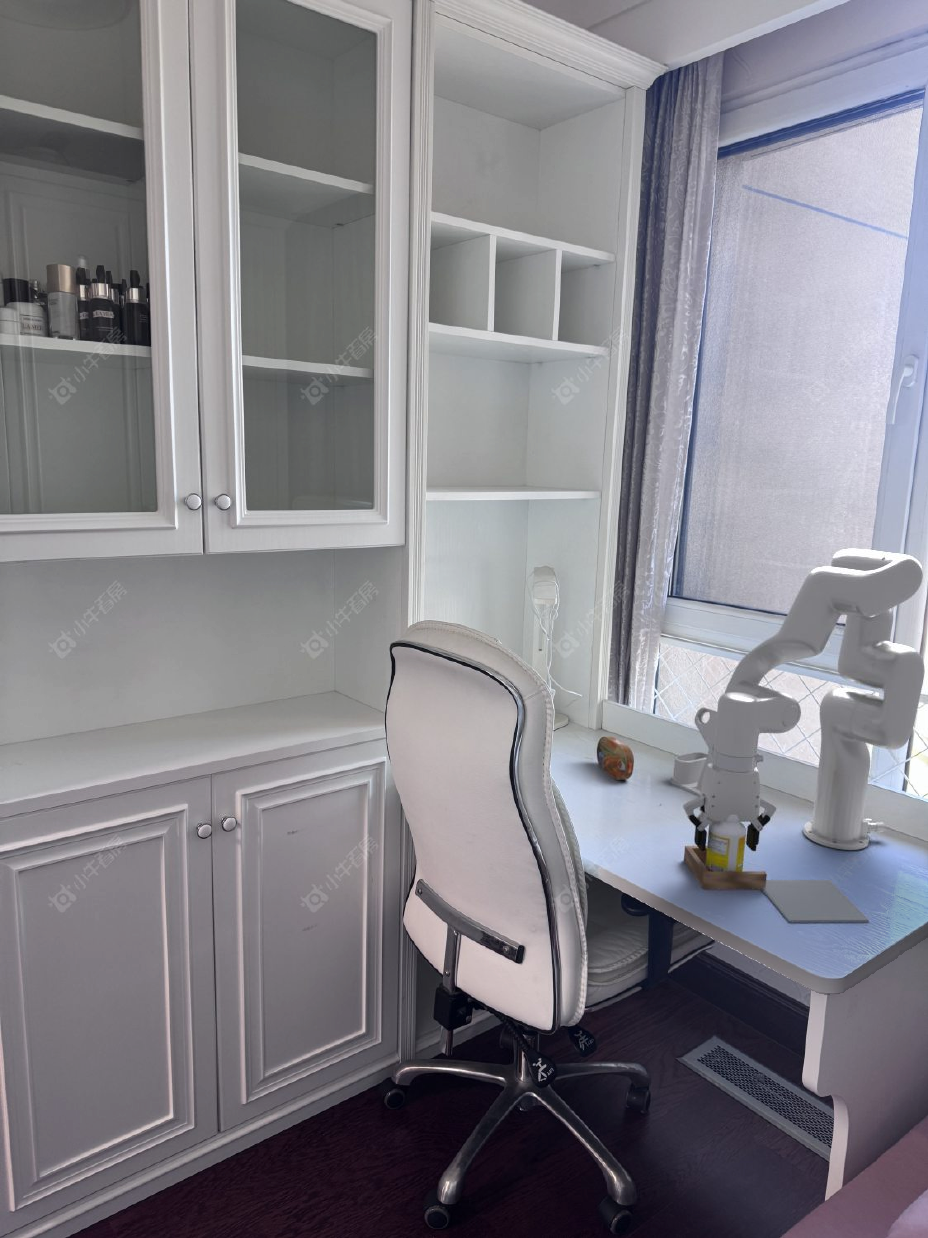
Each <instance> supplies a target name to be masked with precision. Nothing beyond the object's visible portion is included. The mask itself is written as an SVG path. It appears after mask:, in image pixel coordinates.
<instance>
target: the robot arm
mask: <svg viewBox="0 0 928 1238" xmlns="http://www.w3.org/2000/svg"><path fill="white" fill-rule="evenodd" d="M923 576H924V571H923V567H922V565H921V563H920V562H919V561H918V560H917V559H916V558H914V556H911V555H908V554H900V553H893V552H886V551H879V550H872V549H862V548H860V549H859V548H847V549H842V550H839V551H837V552H836V553H835V554H834V555H833V557H832V558H831V561H830V566H822V567H816V568H815V569H813V570H811V572H809V573H808V575H807V576H806V577H805V579H804V581H803V583H802V584H801V587H800V589H799V590H798V593H797V595H796V597H795V599H794V601H793V603H792V604H791V607H790V609H789V611H788V613H787V615H786V616H785V618H784V620H783V623H782V625H781V626H780V628H779V630H778V632H776V634H774V635H772V636H771V637H769V638H768V639H765V640H764V641H763V642H761V643H759V644H758V645H757V646H755V647H754V648H753V649H752V650H751V651H749V652H748V653H746V654H745V656H744V657H743V658H742V659H741V660H740V661H739V662H738V664H737V665H736V668H735V669H734V671H733V673H732V675H731V677H730V679H729V682H728V684H727V685H726V688H725V691H724V693H723V694H721V696H720V697H719V699H718V701H717V710H716V712H717V719H716V730H715V741H714V752H713V762H712V763H709V764H708V765H707V768H706V771H705V774H704V778H703V782H702V787H701V793H700V796H698V797H695V798H694V799H692V800H690V801H687V802H686V803H684V804H683V805H682V809H683V810H684V812H685V815H686V817H687V819H688V820H689V821H690V822H691V823H692V824H693V825H694V827H695V828H694V839H693V840H694V842H693V843H694V844H695V846H698V848H699V849H700V850H701V851H705V849H706V846H707V839H708V832H707V830H706V828H708V827H709V824H710V823H711V822H712V821H716V822H725V821H728V820H727V819H728V817H729V816H730V815H737V817H738V819H739V820H738V821H739V822H741V823H743V822H746V823H747V822H749V823H750V824H748V825H747V828H746V838H745V846H747V847H748V849H749V850H750V851H752V852H757V846H758V845H759V843H760V835H761V834H760V832H762V831H763V829H764V826H766V825H767V824H769V822H770V821H771V818H772V817H773V816H774V814H775V812H776V811H777V807H776V806H775V805H774V804H773V803H771V802H769V801H768V800H766V799H764V798H762V797H761V784H760V783H761V782H760V781H761V780H760V774H759V773H760V772H759V769H758V768H757V765H758V763H762V762H763V761H764V756H763V754H759V753H758V746H759V736H760V735H761V734H782V733H783V734H784V733H788V732H789V731H791V730H793V729H794V728H795V727H796V726H797V725H798V723H799V722H800V719H801V717H802V709H801V706H800V704H799V702H798V701H797V700H796V699H795V697H793V696H791V695H789V694H788V693H785V692H782V691H779V690H775V689H772V688H770V687H765V686H762V685H760V683H761V681H762V680H763V679H764V677H765V676H766V675H767V674H768V673H769V672H770V671H772V670H773V669H775V668H777V667H779V666H781V665H784V664H786V663H791V662H795V661H798V660H799V661H800V660H803V659H808V658H812V657H816V656H819V655H820V654H822V653H823V652H824V649H825V647H826V645H827V643H828V641H829V639H830V637H831V635H832V633H833V631H834V629H835V627H836V625H837V623H838V621H839V620H840V617H841V616H842V615H845V616H846V619H845V623H844V624H845V625H844V629H843V635H842V639H841V644H840V650H839V655H838V658H837V659H838V660H837V671H838V674H839V675H840V677H841V678H842V679H844V680H845V681H848V682H850V683H854V684H857V685H860V686H864V687H867V688H871V689H875V690H879V691H882V692H883V697H881V696H878V695H874V694H871V693H867V692H864V691H862V690H861V691H860V690H857V689H853V688H845V687H843V688H842V687H840V688H835V689H832V690H830V691H828V692H827V693H826V694H825V695H824V696H823V698H822V700H821V702H820V705H819V723H820V737H821V740H820V751H819V753H820V754H819V761H818V768H817V777H816V785H815V786H816V787H815V793H814V794H815V796H814V801H813V804H814V805H813V813H812V820H810V821H807V822H806V823H804V825H803V827H802V829H803V830H802V831H803V834H804V836H805V837H807V838H808V839H809V840H811V841H812V842H814V843H817V844H819V845H820V846H821V845H822V846H824V847H828V848H832V849H835V850H836V849H837V850H844V851H855V850H856V851H857V850H862V849H865V848H866V847H867V846H869V842H870V836H869V835H868V834H870V833H871V832H875V833H882V832H883V833H884V832H885V831H886V824H885V822H884V821H883V822H882V821H879V822H873V820H872V818H864V816H865V809H866V802H867V801H866V799H867V793H868V784H869V777H870V776H869V775H870V771H871V755H870V751H869V747H868V745H867V744H869V745H872V746H875V747H878V748H882V749H885V750H890V751H891V750H892V751H893V750H899V749H901V748H902V747H904V746H905V745H906V744H907V743H908V741H909V740H910V738H911V736H912V733H913V730H914V725H915V721H916V716H917V712H918V707H919V702H920V698H921V693H922V688H923V685H924V679H925V662H924V659H923V657H922V655H921V654H920V652H919V651H917V650H916V649H915V648H912V647H910V646H908V645H904V644H899V643H893V642H892V641H891V636H892V629H893V624H894V611H893V608H895V607H897V606H898V605H900V604H902V603H904V602H906V601H908V600H909V599H911V598H912V597H913V596H914V595H915V594H916V593H917V592H918V590H919V589H920V587H921V585H922V582H923V580H924V579H923V578H924V577H923ZM761 808H763V809H764V811H763V812H762V813H761V814H760V811H761V810H760V809H761ZM696 809H698V810H699V812H700V813H699V814H698V815H697V816H696V815H695V813H694V810H696Z"/></svg>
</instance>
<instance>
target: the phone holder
mask: <svg viewBox="0 0 928 1238" xmlns="http://www.w3.org/2000/svg"><path fill="white" fill-rule="evenodd" d="M706 713H708V714H709V718H708V720H707V721H706V722H705V721H704V719H703V718H704V715H705V714H706ZM716 719H717V710H712V709H710V708H706V707H701V708H699V709H698V710H697V712H696V714H695V716H694V724H695V726H696V728H697V729H698V732H699V734H700V735H701V737H702V739H703V741H704V742H705V744H706V746H707V749H708V751H707V753H705V752H698V751H696V752H690V753H685V754H681V755H677V756H675V757H674V763H673V765H674V767H673V777H672V778H671V779H670V784H672V785H673V786H676V785H677V787H678V786H679V787H678V788H680V787H681V789H683V790H685V791H686V792H689V793H692V794H694V795H696V796H698V797H700V793H701V787H702V782H703V778H704V774H705V771H706V768H707V765H708V764H709V763H712V762H713V752H714V741H715V730H716Z"/></svg>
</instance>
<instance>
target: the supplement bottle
mask: <svg viewBox="0 0 928 1238" xmlns="http://www.w3.org/2000/svg"><path fill="white" fill-rule="evenodd" d="M727 820H728V821H725V822H716V821H712V822H711V823H710V824H709V825H708V832H707V842H706V846H707V855H706V863H705V867H706V868H707V870H708V871H744V870H743V869H744V857H745V848H746V837H747V828H746V826H745V825H744V823H743V822H739V821H738V820H739V819H738V817H737V815H730V816H729V817H728V819H727Z"/></svg>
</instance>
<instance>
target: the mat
mask: <svg viewBox="0 0 928 1238" xmlns="http://www.w3.org/2000/svg"><path fill="white" fill-rule="evenodd" d="M761 891H762V892H763V893H764V894H765V895H766V897H767V898H768V899H769V900H770V902H771V903H772V904H773V905H774V907H775V908H776V909H777V910H778V911H779V912H780V913H781V915H782V916H783V917H784V919H785V920H786V921H787V922H788V923H869V922H870V919H869V918H868V917H867V916H866V915H865V914H864V913H863V912H862V911H861V910H860V909H859V908H858V907H857V906H856V905H855V904H854V903H853V902H852V901H851V900H850V899H849V898H848V897H847V896H846V895H845V894H844V893H843V892H842V891H841V890H840V889H838V887H837V886H835V885H834V883H833V882H832V881H831V880H830V879H766V887H762V889H761Z"/></svg>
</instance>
